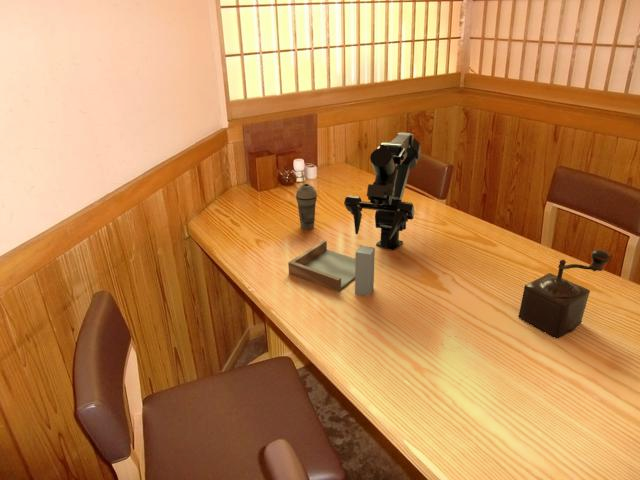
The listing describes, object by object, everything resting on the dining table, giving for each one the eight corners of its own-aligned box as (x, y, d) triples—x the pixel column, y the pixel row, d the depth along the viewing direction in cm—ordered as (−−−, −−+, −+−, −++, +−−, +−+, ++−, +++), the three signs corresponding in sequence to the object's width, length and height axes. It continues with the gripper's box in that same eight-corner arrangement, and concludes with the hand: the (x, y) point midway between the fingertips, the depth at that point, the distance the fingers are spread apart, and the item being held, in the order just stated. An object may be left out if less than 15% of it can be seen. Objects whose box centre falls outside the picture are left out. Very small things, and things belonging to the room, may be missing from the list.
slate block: (359, 285, 127) (360, 245, 121) (373, 288, 126) (374, 247, 120) (354, 293, 124) (355, 252, 118) (369, 296, 122) (370, 254, 117)
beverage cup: (315, 232, 158) (314, 176, 149) (294, 230, 159) (292, 175, 150) (319, 223, 164) (318, 169, 156) (299, 222, 166) (297, 168, 157)
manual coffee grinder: (559, 341, 105) (577, 272, 97) (516, 317, 113) (530, 252, 105) (596, 317, 112) (616, 251, 104) (553, 296, 120) (569, 234, 112)
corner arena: (323, 250, 146) (323, 240, 145) (371, 265, 137) (371, 254, 135) (288, 273, 134) (288, 262, 132) (338, 291, 125) (338, 280, 123)
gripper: (346, 167, 125) (332, 220, 121) (415, 173, 119) (404, 230, 115) (354, 185, 135) (342, 235, 131) (418, 192, 129) (408, 245, 125)
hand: (372, 236), depth 125 cm, fingers open, 9 cm apart
